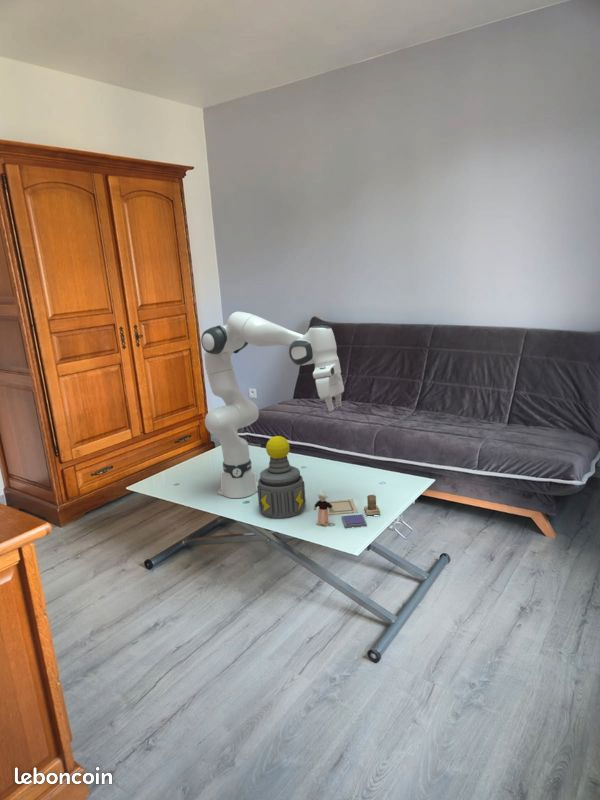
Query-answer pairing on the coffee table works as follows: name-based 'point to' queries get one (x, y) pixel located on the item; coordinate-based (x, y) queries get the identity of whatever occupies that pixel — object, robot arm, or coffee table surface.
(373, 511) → the stamp
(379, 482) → the coffee table surface
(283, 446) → the grey toy tesla coil
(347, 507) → the card sheet
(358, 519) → the ink pad
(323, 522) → the grandmother figurine
